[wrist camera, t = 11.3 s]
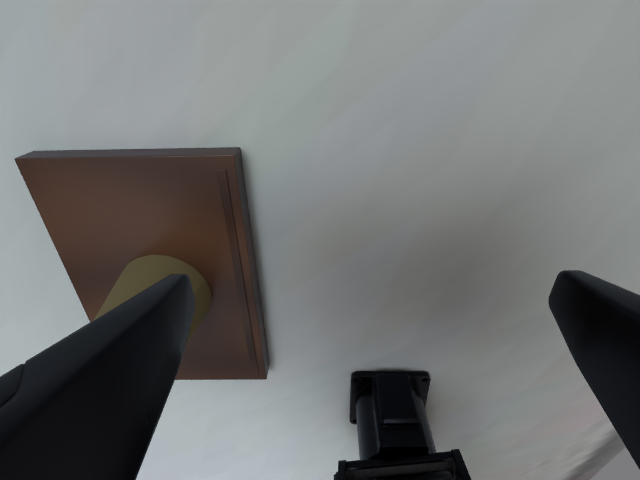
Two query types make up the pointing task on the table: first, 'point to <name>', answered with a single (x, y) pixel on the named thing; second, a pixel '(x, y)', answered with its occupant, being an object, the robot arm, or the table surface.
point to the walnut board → (159, 237)
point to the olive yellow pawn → (150, 272)
